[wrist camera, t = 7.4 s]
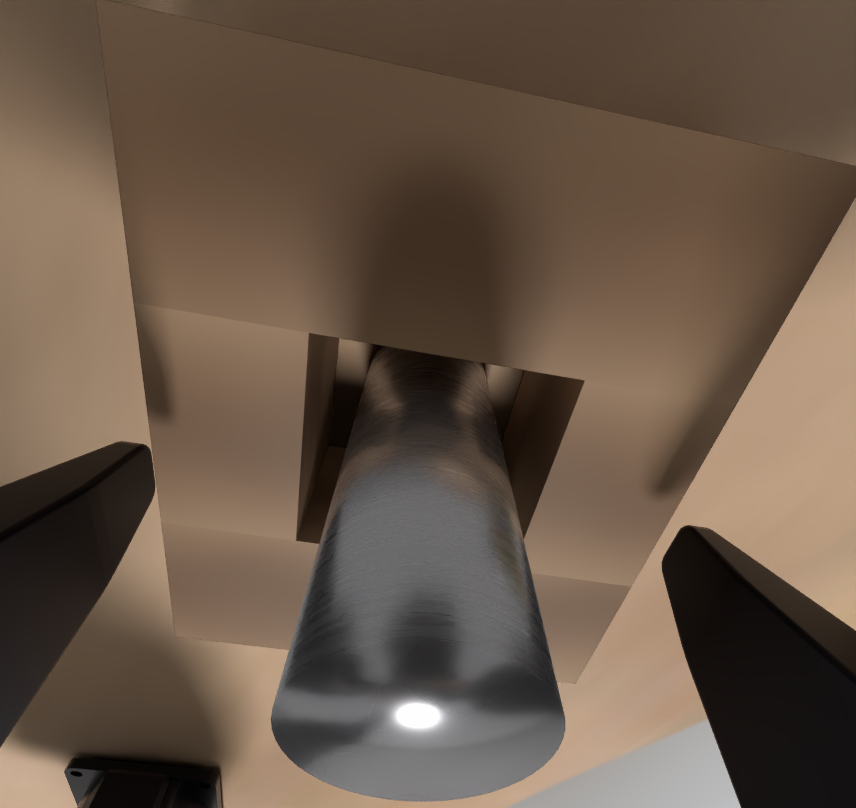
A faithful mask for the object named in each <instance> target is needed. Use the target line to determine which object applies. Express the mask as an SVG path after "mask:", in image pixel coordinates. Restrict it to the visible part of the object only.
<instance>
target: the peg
mask: <svg viewBox="0 0 856 808" xmlns="http://www.w3.org/2000/svg"><path fill="white" fill-rule="evenodd" d="M271 724H272V731H273V734H274V737H275V739H276V741H277V743H278V745H279V746H280V748H281V749H282V751H283V752H284V753H285V754H286V755H287V757H288V758H289V759H290V760H292V761H293V762H294V763H295V764H296V765H297V766H298V767H300V768H301V769H303V770H304V771H306V772H307V773H309V774H310V775H312V776H314V777H316V778H318V779H320V780H321V781H324V782H326V783H328V784H331V785H333V786H335V787H338V788H341V789H344V790H347V791H350V792H354V793H358V794H362V795H366V796H371V797H376V798H382V799H390V800H399V801H446V800H454V799H462V798H468V797H473V796H478V795H482V794H486V793H490V792H493V791H496V790H499V789H502V788H505V787H508V786H510V785H512V784H514V783H517V782H519V781H521V780H523V779H524V778H526V777H528V776H530V775H532V774H533V773H534V772H536V771H537V770H539V769H540V768H541V767H543V766H544V765H545V764H546V763H547V762H548V761H549V760H550V759H551V758H552V757H553V755H554V754H555V753H556V751H557V750H558V748H559V746H560V744H561V742H562V740H563V737H564V732H565V716H564V711H563V707H562V703H561V699H560V694H559V690H558V686H557V681H556V677H555V673H554V668H553V664H552V660H551V655H550V651H549V647H548V642H547V638H546V634H545V629H544V625H543V621H542V617H541V612H540V608H539V604H538V599H537V595H536V591H535V586H534V582H533V578H532V573H531V569H530V565H529V560H528V556H527V552H526V547H525V543H524V539H523V534H522V530H521V526H520V522H519V517H518V513H517V509H516V504H515V500H514V496H513V491H512V487H511V483H510V478H509V474H508V470H507V465H506V461H505V457H504V452H503V448H502V444H501V440H500V435H499V431H498V427H497V422H496V418H495V414H494V409H493V405H492V401H491V396H490V392H489V388H488V383H487V379H486V375H485V371H484V367H483V365H482V363H481V362H475V361H469V360H464V359H458V358H452V357H446V356H440V355H435V354H429V353H423V352H417V351H411V350H406V349H400V348H394V347H388V346H382V347H381V348H380V349H379V351H378V352H377V353H376V355H375V356H374V358H373V360H372V362H371V365H370V367H369V371H368V374H367V378H366V381H365V385H364V388H363V392H362V395H361V399H360V402H359V406H358V409H357V413H356V416H355V420H354V424H353V427H352V431H351V434H350V438H349V441H348V445H347V448H346V452H345V455H344V459H343V462H342V466H341V469H340V473H339V476H338V480H337V483H336V487H335V490H334V494H333V498H332V501H331V505H330V508H329V512H328V515H327V519H326V522H325V526H324V529H323V533H322V536H321V540H320V543H319V547H318V550H317V554H316V557H315V561H314V564H313V568H312V572H311V575H310V579H309V582H308V586H307V589H306V593H305V596H304V600H303V603H302V607H301V610H300V614H299V617H298V621H297V624H296V628H295V631H294V635H293V638H292V642H291V646H290V649H289V653H288V656H287V660H286V663H285V667H284V670H283V674H282V677H281V681H280V684H279V688H278V691H277V695H276V698H275V702H274V705H273V710H272V716H271Z"/></svg>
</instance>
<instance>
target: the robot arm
mask: <svg viewBox="0 0 856 808" xmlns="http://www.w3.org/2000/svg"><path fill="white" fill-rule="evenodd" d="M154 493H155V478H154V471H153V463H152V455H151V451H150V449H149V447H148V446H146V445H144V444H138V443H132V442H124V441H120V442H116V443H113V444H111V445H108V446H105V447H103V448H100V449H98V450H95V451H92V452H90V453H87V454H85V455H82V456H79V457H77V458H74V459H72V460H69V461H66V462H64V463H61V464H59V465H56V466H53V467H51V468H48V469H46V470H43V471H40V472H38V473H35V474H33V475H30V476H27V477H25V478H22V479H20V480H17V481H14V482H12V483H9V484H7V485H4V486H1V487H0V747H1V746H2V744H3V743H4V741H5V740H6V738H7V737H8V735H9V734H10V732H11V731H12V729H13V728H14V726H15V725H16V723H17V722H18V720H19V719H20V717H21V716H22V714H23V713H24V711H25V710H26V708H27V707H28V705H29V703H30V702H31V700H32V699H33V697H34V696H35V694H36V693H37V691H38V690H39V688H40V687H41V685H42V684H43V682H44V681H45V679H46V678H47V676H48V675H49V673H50V672H51V670H52V669H53V667H54V666H55V664H56V663H57V661H58V660H59V658H60V657H61V655H62V654H63V652H64V651H65V649H66V648H67V646H68V645H69V643H70V642H71V640H72V639H73V637H74V636H75V634H76V633H77V631H78V630H79V628H80V627H81V625H82V624H83V622H84V621H85V619H86V618H87V616H88V615H89V613H90V612H91V610H92V609H93V607H94V606H95V604H96V602H97V601H98V599H99V598H100V596H101V595H102V593H103V591H104V590H105V588H106V587H107V585H108V583H109V581H110V580H111V578H112V576H113V574H114V573H115V571H116V569H117V567H118V565H119V563H120V561H121V559H122V557H123V555H124V553H125V551H126V550H127V548H128V546H129V544H130V542H131V540H132V538H133V536H134V534H135V532H136V530H137V528H138V526H139V524H140V523H141V521H142V519H143V517H144V515H145V513H146V511H147V509H148V507H149V505H150V503H151V501H152V499H153V496H154ZM662 573H663V577H664V580H665V584H666V588H667V592H668V595H669V599H670V603H671V606H672V610H673V614H674V618H675V621H676V625H677V629H678V633H679V636H680V640H681V644H682V647H683V650H684V654H685V657H686V660H687V663H688V666H689V669H690V672H691V674H692V677H693V680H694V683H695V685H696V688H697V691H698V693H699V696H700V699H701V701H702V704H703V707H704V709H705V712H706V715H707V717H708V720H709V723H710V725H711V728H712V731H713V733H714V736H715V739H716V742H717V744H718V747H719V750H720V752H721V755H722V758H723V760H724V763H725V766H726V768H727V771H728V774H729V777H730V779H731V782H732V785H733V787H734V790H735V793H736V795H737V798H738V801H739V803H740V806H741V808H856V631H855V630H854V629H852V628H851V627H850V626H848V625H847V624H845V623H844V622H842V621H841V620H840V619H838V618H837V617H835V616H834V615H833V614H831V613H830V612H828V611H827V610H825V609H824V608H823V607H821V606H820V605H818V604H817V603H815V602H814V601H813V600H811V599H810V598H808V597H807V596H805V595H804V594H803V593H801V592H800V591H798V590H797V589H795V588H794V587H793V586H791V585H790V584H788V583H787V582H785V581H784V580H783V579H781V578H780V577H778V576H777V575H775V574H774V573H773V572H771V571H770V570H768V569H767V568H765V567H764V566H763V565H761V564H760V563H758V562H757V561H756V560H754V559H753V558H751V557H750V556H748V555H747V554H746V553H744V552H743V551H741V550H740V549H738V548H737V547H736V546H734V545H733V544H731V543H730V542H728V541H727V540H726V539H724V538H723V537H721V536H720V535H718V534H717V533H716V532H714V531H713V530H711V529H708V528H704V527H697V526H691V525H687V526H684V527H682V528H681V529H680V530H679V532H678V533H677V535H676V537H675V538H674V540H673V542H672V543H671V545H670V547H669V548H668V550H667V552H666V554H665V555H664V557H663V561H662ZM64 773H65V775H66V778H67V780H68V783H69V785H70V788H71V790H72V793H73V796H74V798H75V801H76V803H77V806H78V807H77V808H222V803H221V788H220V776H219V774H218V773H216V772H214V771H211V770H203V769H193V768H182V767H172V766H161V765H151V764H141V763H130V762H120V761H109V760H99V759H89V758H73V759H72V760H71V761H70V762H69V764H68V766H67V767H66V769H65V772H64Z"/></svg>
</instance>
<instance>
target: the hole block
mask: <svg viewBox="0 0 856 808" xmlns="http://www.w3.org/2000/svg"><path fill="white" fill-rule="evenodd" d="M96 8H97V16H98V24H99V32H100V40H101V48H102V56H103V63H104V71H105V79H106V87H107V95H108V103H109V111H110V119H111V127H112V135H113V143H114V151H115V159H116V167H117V175H118V183H119V191H120V199H121V207H122V215H123V223H124V231H125V238H126V246H127V254H128V262H129V270H130V278H131V286H132V294H133V302H134V310H135V318H136V326H137V334H138V342H139V350H140V358H141V366H142V374H143V382H144V390H145V398H146V406H147V413H148V421H149V429H150V437H151V445H152V453H153V461H154V469H155V477H156V485H157V493H158V501H159V509H160V517H161V525H162V533H163V541H164V549H165V557H166V565H167V573H168V581H169V588H170V596H171V604H172V612H173V620H174V628H175V636H176V637H183V638H191V639H200V640H208V641H217V642H225V643H234V644H242V645H251V646H259V647H268V648H276V649H285V650H289V649H290V646H291V642H292V638H293V635H294V631H295V628H296V624H297V621H298V617H299V614H300V610H301V607H302V603H303V600H304V596H305V593H306V589H307V586H308V582H309V579H310V575H311V572H312V568H313V564H314V561H315V557H316V554H317V550H318V547H319V543H320V540H321V536H322V533H323V529H324V526H325V522H326V519H327V515H328V512H329V508H330V505H331V501H332V498H333V494H334V490H335V487H336V483H337V480H338V476H339V473H340V469H341V466H342V462H343V459H344V455H345V452H346V448H341V447H335V446H329V438H330V428H331V417H332V407H333V396H334V386H335V375H336V365H337V355H338V344H339V338H342V339H348V340H353V341H359V342H365V343H371V344H377V345H382V346H388V347H394V348H400V349H406V350H411V351H417V352H423V353H429V354H435V355H440V356H446V357H452V358H458V359H464V360H469V361H475V362H481V363H487V364H493V365H498V366H504V367H510V368H516V369H522V370H524V374H523V377H522V380H521V383H520V387H519V390H518V393H517V396H516V399H515V403H514V406H513V409H512V412H511V416H510V419H509V422H508V425H507V428H506V432H505V435H504V438H503V441H502V448H503V452H504V457H505V461H506V465H507V470H508V474H509V478H510V483H511V487H512V491H513V496H514V500H515V504H516V509H517V513H518V517H519V522H520V526H521V530H522V534H523V539H524V543H525V547H526V552H527V556H528V560H529V565H530V569H531V573H532V578H533V582H534V586H535V591H536V595H537V599H538V604H539V608H540V612H541V617H542V621H543V625H544V629H545V634H546V638H547V642H548V647H549V651H550V655H551V660H552V664H553V668H554V673H555V677H556V681H557V682H565V683H573V684H576V682H577V681H578V679H579V677H580V675H581V674H582V672H583V670H584V669H585V667H586V665H587V663H588V662H589V660H590V658H591V656H592V655H593V653H594V651H595V649H596V648H597V646H598V644H599V642H600V641H601V639H602V637H603V635H604V634H605V632H606V630H607V629H608V627H609V625H610V623H611V622H612V620H613V618H614V616H615V615H616V613H617V611H618V609H619V608H620V606H621V604H622V602H623V601H624V599H625V597H626V596H627V594H628V592H629V590H630V589H631V587H632V585H633V583H634V582H635V580H636V578H637V576H638V575H639V573H640V571H641V569H642V568H643V566H644V564H645V562H646V561H647V559H648V557H649V556H650V554H651V552H652V550H653V549H654V547H655V545H656V543H657V542H658V540H659V538H660V536H661V535H662V533H663V531H664V529H665V528H666V526H667V524H668V523H669V521H670V519H671V517H672V516H673V514H674V512H675V510H676V509H677V507H678V505H679V503H680V502H681V500H682V498H683V496H684V495H685V493H686V491H687V489H688V488H689V486H690V484H691V483H692V481H693V479H694V477H695V476H696V474H697V472H698V470H699V469H700V467H701V465H702V463H703V462H704V460H705V458H706V456H707V455H708V453H709V451H710V449H711V448H712V446H713V444H714V443H715V441H716V439H717V437H718V436H719V434H720V432H721V430H722V429H723V427H724V425H725V423H726V422H727V420H728V418H729V416H730V415H731V413H732V411H733V410H734V408H735V406H736V404H737V403H738V401H739V399H740V397H741V396H742V394H743V392H744V390H745V389H746V387H747V385H748V383H749V382H750V380H751V378H752V376H753V375H754V373H755V371H756V370H757V368H758V366H759V364H760V363H761V361H762V359H763V357H764V356H765V354H766V352H767V350H768V349H769V347H770V345H771V343H772V342H773V340H774V338H775V336H776V335H777V333H778V331H779V330H780V328H781V326H782V324H783V323H784V321H785V319H786V317H787V316H788V314H789V312H790V310H791V309H792V307H793V305H794V303H795V302H796V300H797V298H798V297H799V295H800V293H801V291H802V290H803V288H804V286H805V284H806V283H807V281H808V279H809V277H810V276H811V274H812V272H813V270H814V269H815V267H816V265H817V263H818V262H819V260H820V258H821V257H822V255H823V253H824V251H825V250H826V248H827V246H828V244H829V243H830V241H831V239H832V237H833V236H834V234H835V232H836V230H837V229H838V227H839V225H840V224H841V222H842V220H843V218H844V217H845V215H846V213H847V211H848V210H849V208H850V206H851V204H852V203H853V201H854V199H855V197H856V166H853V165H849V164H844V163H840V162H835V161H831V160H826V159H822V158H817V157H813V156H808V155H804V154H799V153H794V152H790V151H785V150H781V149H776V148H772V147H767V146H763V145H758V144H754V143H749V142H745V141H740V140H736V139H731V138H727V137H722V136H718V135H713V134H709V133H704V132H700V131H695V130H691V129H686V128H682V127H677V126H673V125H668V124H664V123H659V122H655V121H650V120H646V119H641V118H637V117H632V116H628V115H623V114H619V113H614V112H610V111H605V110H600V109H596V108H591V107H587V106H582V105H578V104H573V103H569V102H564V101H560V100H555V99H551V98H546V97H542V96H537V95H533V94H528V93H524V92H519V91H515V90H510V89H506V88H501V87H497V86H492V85H488V84H483V83H479V82H474V81H470V80H465V79H461V78H456V77H452V76H447V75H443V74H438V73H434V72H429V71H425V70H420V69H416V68H411V67H406V66H402V65H397V64H393V63H388V62H384V61H379V60H375V59H370V58H366V57H361V56H357V55H352V54H348V53H343V52H339V51H334V50H330V49H325V48H321V47H316V46H312V45H307V44H303V43H298V42H294V41H289V40H285V39H280V38H276V37H271V36H267V35H262V34H258V33H253V32H249V31H244V30H240V29H235V28H231V27H226V26H221V25H217V24H212V23H208V22H203V21H199V20H194V19H190V18H185V17H181V16H176V15H172V14H167V13H163V12H158V11H154V10H149V9H145V8H140V7H136V6H131V5H127V4H122V3H118V2H113V1H109V0H96Z"/></svg>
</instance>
